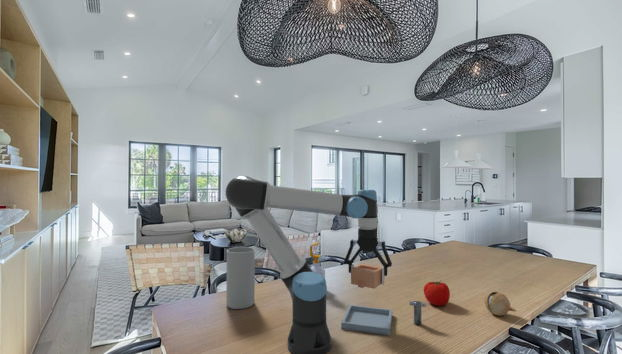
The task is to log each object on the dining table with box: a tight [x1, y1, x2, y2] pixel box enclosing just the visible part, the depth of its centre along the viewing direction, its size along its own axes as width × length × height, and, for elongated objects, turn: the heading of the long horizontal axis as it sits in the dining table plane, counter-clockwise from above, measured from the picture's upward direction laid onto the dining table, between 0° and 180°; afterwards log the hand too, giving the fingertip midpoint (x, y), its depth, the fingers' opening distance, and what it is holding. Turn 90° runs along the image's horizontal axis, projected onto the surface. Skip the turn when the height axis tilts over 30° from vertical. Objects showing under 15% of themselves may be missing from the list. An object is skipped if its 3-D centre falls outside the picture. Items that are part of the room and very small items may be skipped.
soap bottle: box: [309, 242, 326, 279], centre depth 162 cm, size 9×9×25 cm
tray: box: [340, 304, 393, 336], centre depth 125 cm, size 18×18×2 cm
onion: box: [484, 291, 517, 317], centre depth 131 cm, size 9×9×15 cm
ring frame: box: [350, 262, 386, 289], centre depth 124 cm, size 10×12×6 cm
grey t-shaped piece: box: [409, 300, 427, 326], centre depth 123 cm, size 3×6×8 cm, turn 73°
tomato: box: [423, 279, 451, 307], centre depth 143 cm, size 11×13×10 cm
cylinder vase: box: [225, 246, 255, 310], centre depth 143 cm, size 12×12×25 cm
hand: (367, 282), depth 125 cm, fingers closed on ring frame, 11 cm apart
